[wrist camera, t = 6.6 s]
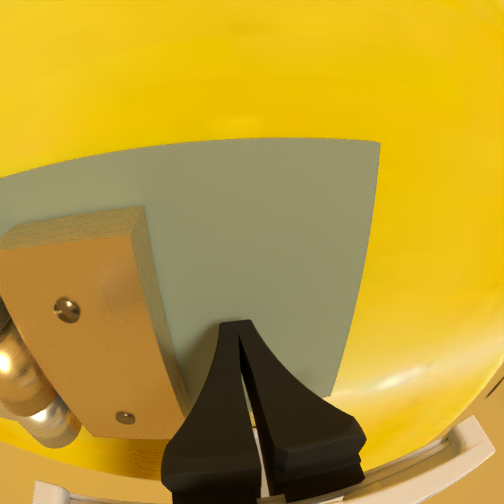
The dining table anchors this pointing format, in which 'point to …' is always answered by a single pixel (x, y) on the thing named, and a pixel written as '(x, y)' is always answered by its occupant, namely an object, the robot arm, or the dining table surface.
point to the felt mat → (234, 238)
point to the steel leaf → (45, 413)
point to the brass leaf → (89, 325)
